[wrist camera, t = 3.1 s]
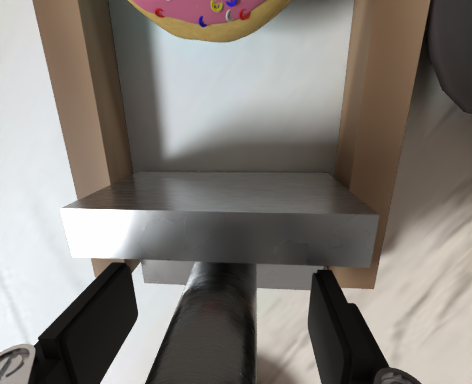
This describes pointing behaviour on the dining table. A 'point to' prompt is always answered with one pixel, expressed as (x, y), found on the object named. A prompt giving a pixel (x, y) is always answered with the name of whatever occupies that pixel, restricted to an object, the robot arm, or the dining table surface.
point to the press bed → (352, 117)
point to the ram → (222, 253)
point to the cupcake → (210, 17)
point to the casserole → (452, 48)
